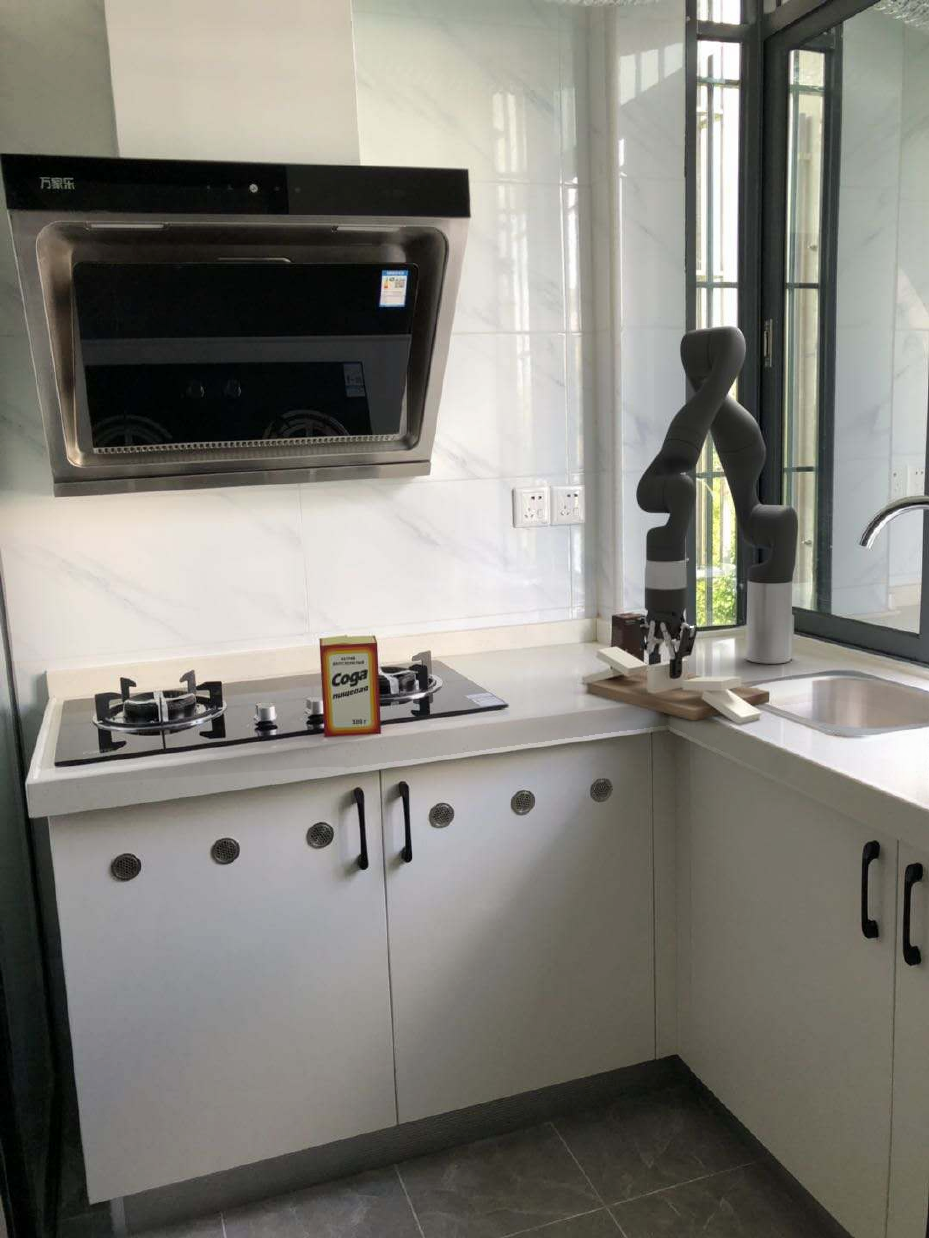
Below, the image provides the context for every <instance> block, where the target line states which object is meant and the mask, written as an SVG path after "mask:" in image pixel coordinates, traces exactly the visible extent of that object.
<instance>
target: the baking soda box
mask: <svg viewBox="0 0 929 1238" xmlns="http://www.w3.org/2000/svg"><path fill="white" fill-rule="evenodd" d="M378 649H379V648H378V642H377V638H376V635H360V636H359V635H355V636H354V635H353V636H348V635H339V636H338V635H336V636H328V637H320V638H319V654H320V655H319V656H320V657H319V659H320V675H321V677H320V678H321V693H322V694H321V698H322V715H323V716H322V717H323V733H324V734H323V736H324V738H329V737H330V738H334V737H348V736H362V735H377V734H378V735H379V734H382V725H381V702H380V701H381V699H380V696H381V695H380V675H379V674H380V673H379V655H378V653H379V652H378V651H379V650H378Z"/></svg>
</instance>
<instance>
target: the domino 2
mask: <svg viewBox="0 0 929 1238" xmlns="http://www.w3.org/2000/svg"><path fill="white" fill-rule="evenodd" d="M596 659H598V660H600V661H601V662H603V663H605V664H607V665H608V666H609V667H610V668H611V667H613V668H615V669H616V670H618V671H620V672H621V673H623V674H625V675H626V676H631V675H636V674H640V673H645V672H647V670H648V665H649V663H648V664H647V663H646V662H645V661H644V662H642V661H641V660H639V659H637V658H635V657H634V656H632V655H630V654H628V653H627V652H625V651H623V650H622V649H620V648H618V647H611V646H610V647H606V648H601V649H597V651H596Z"/></svg>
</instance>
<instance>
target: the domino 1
mask: <svg viewBox="0 0 929 1238" xmlns="http://www.w3.org/2000/svg"><path fill="white" fill-rule="evenodd" d="M622 675H625V674H623V673H621V672H620V671H618V670H616V669H615V668H611V667H610V668H608V669H605V670H602V671H599V672H596V673H593V674H589V675H587V676H582V681H583V682H582V683H584V684H587V683H588V682H593V681H598V680H603V679H608V678H612V677H617V676H622Z"/></svg>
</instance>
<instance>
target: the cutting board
mask: <svg viewBox="0 0 929 1238" xmlns="http://www.w3.org/2000/svg"><path fill="white" fill-rule="evenodd" d="M698 677H703V676H701V675H697V674H692V673H688V680H689V679H693V678H698ZM647 678H648V669H647V672H645V673H640V674H636V675H631V676H626V675H622V676H617V677H612V678H608V679H603V680H598V681H593V682H588V683H587V686H586V688H587V693H591V694H594V695H598V696H602V697H606V698H609V699H612V700H617V701H619V702H624V703H628V704H631V705H635V706H637V707H638V706H639V707H641V708H646V709H649V710H653V711H657V712H659V713H664V714H667V715H672V716H674V717H678V718H682V719H687V720H691V721H697V720H702V719H706V718H709V717H712V716H713V717H714V716H717V715H721V714H723V713H721V712H720V711H718V710H717V709H716V708H714V707H713V706H711V705H710V704H709V703H707V702H706V701H704V700H703V699H702V695H703V692H704V690H683V687H681V688H677V689H672V690H668V691H663V692H659V693H655V694H653V693H649V692H647ZM728 690H729V691H731V692H732V693H734V694H735V695H737V696H738V697H740V698H741V699H742V700H744V701H745V702H747V703H748V704H750V705H751V706H753V707H754V706H755V705H756V706H757V705H761V704H764V703H768V702H770V696H771V695H770V691H768V690H763V689H761V688H760V689H759V688H755V687H749V686H745V685H742V684H741V686H740V687H735V688H731V689H728Z"/></svg>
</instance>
